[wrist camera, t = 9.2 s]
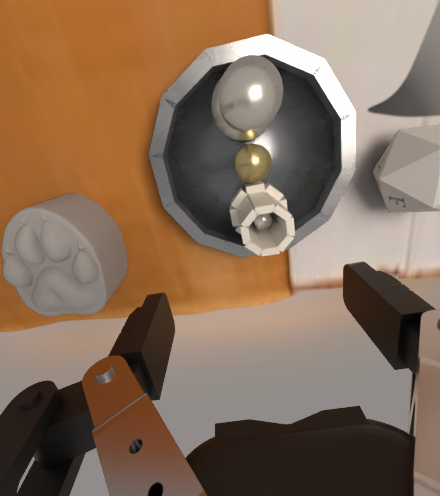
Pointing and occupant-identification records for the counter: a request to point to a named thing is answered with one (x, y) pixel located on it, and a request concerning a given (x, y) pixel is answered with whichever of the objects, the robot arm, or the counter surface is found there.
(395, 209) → the die
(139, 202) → the counter surface
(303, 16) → the counter surface
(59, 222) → the paw print stamp
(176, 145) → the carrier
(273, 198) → the flanged octagonal tube
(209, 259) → the counter surface
